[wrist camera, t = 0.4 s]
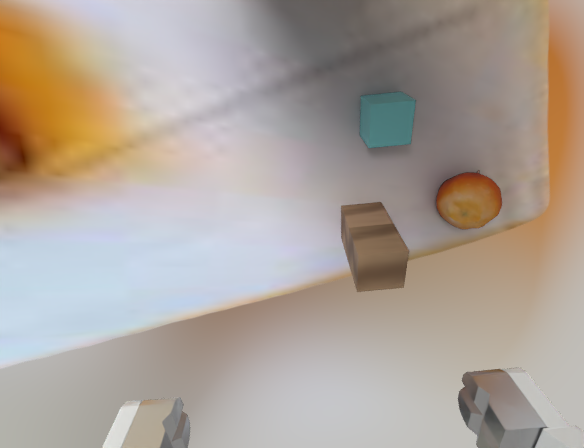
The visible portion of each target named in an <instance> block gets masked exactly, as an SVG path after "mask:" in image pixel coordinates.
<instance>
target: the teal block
mask: <svg viewBox="0 0 584 448" xmlns="http://www.w3.org/2000/svg"><path fill="white" fill-rule="evenodd" d="M415 103H416V100H415V99H413V98H411V97H409V96H408V95H406V94H404V93H403V92H393V93H383V94H374V95H364V96H361V110H360V137H361V138H362V139H363V141H364V142H365V144H366V145H367V146H368V148H376V147H386V146H396V145H406V144H411V137H412V128H413V120H414V111H415Z"/></svg>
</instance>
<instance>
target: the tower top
mask: <svg viewBox="0 0 584 448" xmlns="http://www.w3.org/2000/svg"><path fill="white" fill-rule="evenodd" d="M408 254H409V250H408V248H407V247H406V245H405V243H404V241H403V240H402V238H401V236H400V234H399V233H398V231H397V229H396V227H395V226H394V224H383V225H373V226H362V227H352V228H349V260H348V262H349V266H350V269H351V272H352V276H353V279H354V283H355V286H356V289H357V292H361V291H371V290H382V289H393V288H403V287H404V282H405V275H406V268H407V261H408Z"/></svg>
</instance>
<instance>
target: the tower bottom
mask: <svg viewBox="0 0 584 448" xmlns="http://www.w3.org/2000/svg"><path fill="white" fill-rule="evenodd" d="M383 224H393V222H392V220H391V219H390V217H389V215H388V213H387V212H386V210H385V208H384V206H383V205H382V203H381V202H377V203H366V204H356V205H346V206H341V238H342V242H343V245H344V249H345V252H346V255H347V259H348V260H349V228H352V227H362V226H373V225H383Z"/></svg>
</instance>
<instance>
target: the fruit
mask: <svg viewBox="0 0 584 448" xmlns="http://www.w3.org/2000/svg"><path fill="white" fill-rule="evenodd" d="M479 172H480V171H479V170H478V172H477V173H469V172H467V173H462V174H459V175H457V176H454V177H453V178H450V179H448V180H446V181H445V182H444V183H443V184H442V185H441V187H440V188H439V191H438V195H437V200H436V203H437V209H438V211H439V214H440V216H441V217H442V218H444V219H445V220H446V221H447V222H448V223H450V224H451V225H453V226H455V227H458V228H460V229H470V228H480V227H482V226H484V225H485V224H486V223H488V222H489V221H491V220H492V219H493V218H495V217H496V216H497V215H498V214H499V211H500V209H501V206H502V198H501V191H500V188H499V187H498V186H497V184H496V183H495V182H494V181H493V180H492V179H490V178H488V177H487V176H484V175H482V174H479Z"/></svg>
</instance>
